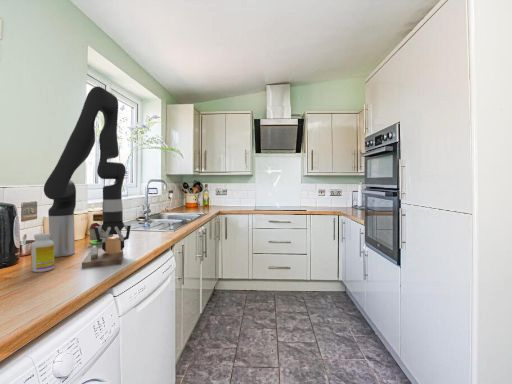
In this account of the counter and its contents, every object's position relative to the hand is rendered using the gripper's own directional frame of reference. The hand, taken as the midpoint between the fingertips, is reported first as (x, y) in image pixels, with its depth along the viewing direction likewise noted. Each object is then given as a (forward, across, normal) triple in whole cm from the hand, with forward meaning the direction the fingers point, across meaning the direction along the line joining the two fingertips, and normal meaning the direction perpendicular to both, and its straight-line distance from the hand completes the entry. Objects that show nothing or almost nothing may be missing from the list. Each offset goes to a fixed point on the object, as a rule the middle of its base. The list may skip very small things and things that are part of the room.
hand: (113, 250), depth 124 cm
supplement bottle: (+3, -22, -10) cm, 25 cm away
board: (+3, -3, -4) cm, 6 cm away
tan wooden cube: (+1, 0, 0) cm, 1 cm away
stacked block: (+3, -9, +36) cm, 37 cm away
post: (+1, -6, -8) cm, 10 cm away
